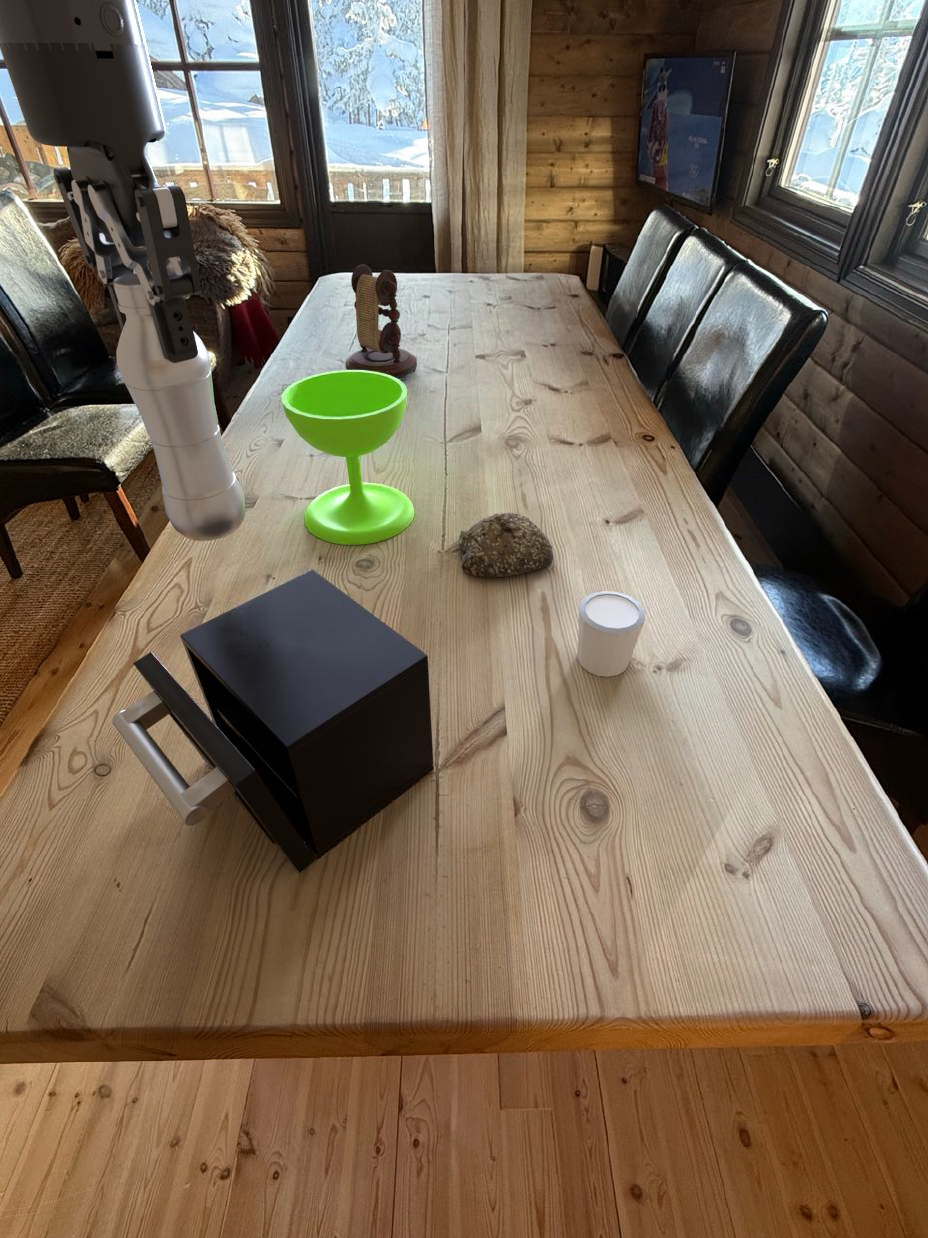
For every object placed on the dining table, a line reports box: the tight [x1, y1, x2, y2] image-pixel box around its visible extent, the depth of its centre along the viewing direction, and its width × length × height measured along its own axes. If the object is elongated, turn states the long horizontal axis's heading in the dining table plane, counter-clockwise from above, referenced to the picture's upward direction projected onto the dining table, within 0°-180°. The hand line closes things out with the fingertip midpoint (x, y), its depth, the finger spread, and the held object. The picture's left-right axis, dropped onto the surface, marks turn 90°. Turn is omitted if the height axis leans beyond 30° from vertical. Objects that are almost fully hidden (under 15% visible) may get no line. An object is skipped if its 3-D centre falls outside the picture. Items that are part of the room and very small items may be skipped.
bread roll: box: [457, 512, 554, 578], centre depth 87 cm, size 13×12×5 cm
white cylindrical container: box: [577, 590, 646, 678], centre depth 71 cm, size 7×7×7 cm
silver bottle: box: [113, 272, 246, 542], centre depth 51 cm, size 6×7×20 cm
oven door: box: [111, 651, 316, 874], centre depth 53 cm, size 5×16×15 cm, turn 44°
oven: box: [179, 568, 435, 860], centre depth 58 cm, size 13×16×15 cm
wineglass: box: [281, 369, 416, 546], centre depth 90 cm, size 16×16×18 cm
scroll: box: [344, 264, 418, 379], centre depth 131 cm, size 15×15×20 cm
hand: (161, 347), depth 47 cm, fingers closed on silver bottle, 6 cm apart
